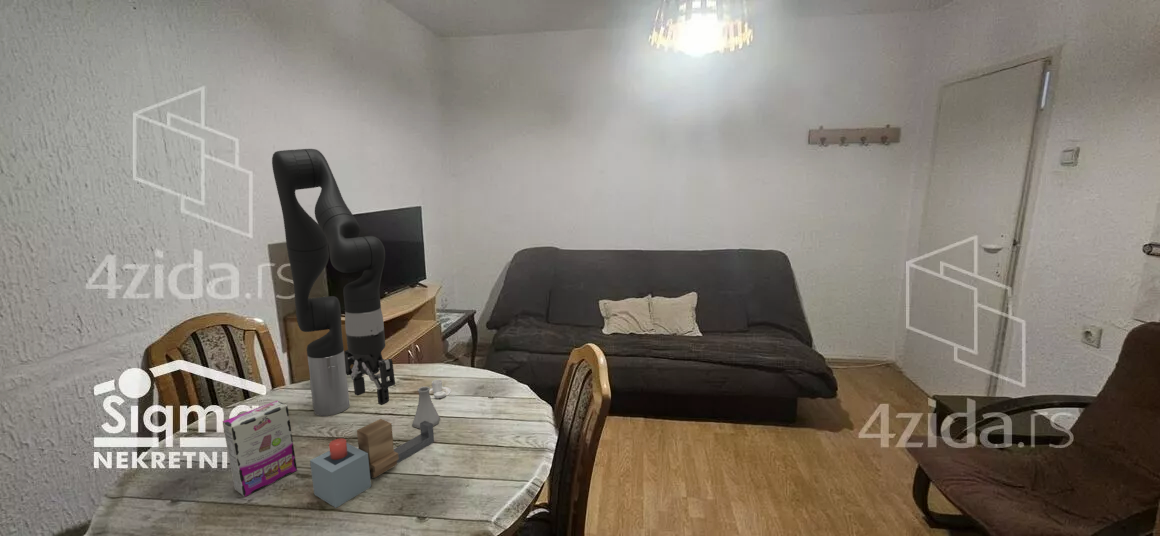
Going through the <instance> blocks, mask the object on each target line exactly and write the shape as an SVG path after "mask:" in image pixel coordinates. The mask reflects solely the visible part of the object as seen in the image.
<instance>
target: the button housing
mask: <svg viewBox="0 0 1160 536" xmlns="http://www.w3.org/2000/svg"><path fill="white" fill-rule="evenodd" d="M346 444H347V456H345V457H344V458H342V459H338V460H333V459H331V457H330V450H328V451H326V452H324V453H321V454H319V455H318V456H316V457H314V458H312V459H309V462H310V471H311V479H312V488H313V494H314V496H315V497H318V498H319V499H321V500H322V501H324V502H326V503H327V504H329V505H330V506H332V507H334V509H337V508H338V507H339V506H342V505H344V504H345V503H347V502H348V501H350V500H351V499H354V498H355V497H357V496H358V495H360V494H362V493H363V492H365V491H367V490H368V489H370V488H371V487H372V482H371V479H370V470H369V460H368V453H366V452H364V451H362V450H360V449H359V447H357V446H354V445H351V444H350V443H348V442H346Z"/></svg>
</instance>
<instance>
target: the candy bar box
mask: <svg viewBox="0 0 1160 536" xmlns="http://www.w3.org/2000/svg"><path fill="white" fill-rule="evenodd" d="M289 413H290V412H289V408H288V405H287V404H286V403H283V402H281V401H279V400H275V401H271V402H269V403H267V404H264V405H262V406H260V407H257V408H254V409H250V410H249V411H245V412H243V413H241V414H239V415H235V416H233V417H231V418H228V419H225V420H222V426H223V432H224V433H223V434H224V436H225V442H226V449H227V453H228V454H227V455H228V459H229V466H230V472H231V475H232V482H233V487H234V490H235V491H236V492H237V493H239V494H240V495H241V496H243V497H248V496H249V495H252V494H253V493H255V492H258V491H260V490H261V489H263V488H265V487H268V486H270V485H272V484H273V483H275V482H277V481H279V480H281V479H282V478H285V477H287V476H289V475H291V474H293V473H294V472H297V471H298V468H297V460H296V453H295V447H294V441H293V435H292V433H293V432H292V427H291V426H292V425H291V421H290V414H289Z"/></svg>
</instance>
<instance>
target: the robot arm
mask: <svg viewBox="0 0 1160 536" xmlns="http://www.w3.org/2000/svg"><path fill="white" fill-rule="evenodd" d="M271 157H272V158H271V166H272V174H273V177H274V178H273V179H274V181H275V187H276V189H277V190H276V191H277V195H278V199H279V203H280V207H281V213H282V217H283V218H282V219H283V227H284V234H285V243H286V244H285V245H286V251H287V256H288V261H289V264H290V265H289V266H290V271H291V276H292V277H291V278H292V283H293V290H294V302H295V303H294V305H295V306H294V307H295V315H296V322H297V325H298V328H299V330H300V331H302V332H304V333H312V332H319V331H326V330H328V332H327V333H326V334H324V335H323V336H321V337H320V338H317V339H315V340H313V341H311V342H310V343H309V344H308V345H307V346H306V354H307V363H308V370H309V371H308V372H309V382H310V383H309V384H310V392H311V399H312V400H311V402H312V409H313V412H314V414H315V415H317V416H321V417H322V416H325V417H326V416H332V415H337V414H339V413H342V412H344V411H346V410H347V409H348V408H350V404H351V403H350V396H349V395H350V394H349V387H348V386H349V385H348V376H350V379H351V380H353V390H354V395H355V396H360V395H363V394H365V393H366V386H365V377H364V375H367V376H368V377H369V379H370V381H372V382H374V384H375V386H376V393H377V394H376V396H377V404H378V405H380V406H383V405H385V404H387V403H389V402H390V393H389V388H390V387H393V386H395V385H396V381H395V380H396V379H395V372H394V371H395V370H394V363H393V360H392V358H387V359H385V358H383V356H382V352H383V350H384V349H385V347H386V338H385V337H386V336H385V327H384V326H385V325H384V315H383V312H382V305H381V295H380V294H381V293H380V292H381V291H380V289H381V288H380V287H381V281H382V275H383V270H384V267H385V261H386V250H385V249H386V248H385V246H384V243H383V242H382V241H381V239H380V238H378V237H376V236H373V235H369V236H368V235H367V236H360V234H361V227H360V223H358V221H357V219H356V217H355V216H354V214H353V213H352V212H351V210H350V208H349V207H348V205H347V204H346V202H345V200H344V199H343V198H344V197H343V195H342V193H341V191H340V188H339V186H338V183H337V181H336V179H335V176H334V174H333V172H332V169H331V167H330V164H329V163H328V161H327V159H326V157H325V155H324V154H323V153H322V152H321V151H320V150H318V149H316V148H298V149H284V150H277V151H275V152H274V153H273V154H272V156H271ZM319 187H320V188H321V191H320V193H319V196H318V198H317V200H316V203H315V206H314V216H315V219H313V217H312V216H311V215H309V214H308V212H307V211H306V210H305V209H304V207H302V205H301V204H300V203H299V201H298V198H297V195H296V191H299V190H308V189H314V188H319ZM329 259H330V263H331V265H332V267H333V268H334V269H335V270H336V271H338V272H341V273H345V274H346V273H348V274H349V273H355V272H361V271H363V272H362V275H361V276H360V277H359V278H357V279H356V280H354V281H351V282H348V283H346V284H345V285H344V287H343V290H342V291H343V292H342V293H343V302H344V303H343V304H344V313H345V314H344V316H345V317H344V325H345V326H344V327H345V334H346V335H345V336H346V344H347V347H346V348H347V349H346V350H344V349H345V347H344V342H343V331H342V312H341V311H342V310H341V303H340V300H339V298H338V297H337V296H334V295H331V296H321V297H319V296H318V297H311V298H309V297H310V293H311V291H312V288H313V286H314V284H315V282H317V280H318V278H319V276H320V275H321V274H322V273H323V272H324V270H325V268H326V266H327V264H328V263H329ZM352 365H353V366H352ZM351 366H352V367H351ZM388 377H389V378H388Z"/></svg>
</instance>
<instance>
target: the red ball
mask: <svg viewBox="0 0 1160 536" xmlns="http://www.w3.org/2000/svg"><path fill="white" fill-rule="evenodd" d="M346 443H347V440H346V438H341V437H340V438H336V439H333V440H331V441H330V442H329V444H328V446H329V451H330V457H331V459H333V460H338V459H342V458H344V457H345V456H347V444H346Z"/></svg>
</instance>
